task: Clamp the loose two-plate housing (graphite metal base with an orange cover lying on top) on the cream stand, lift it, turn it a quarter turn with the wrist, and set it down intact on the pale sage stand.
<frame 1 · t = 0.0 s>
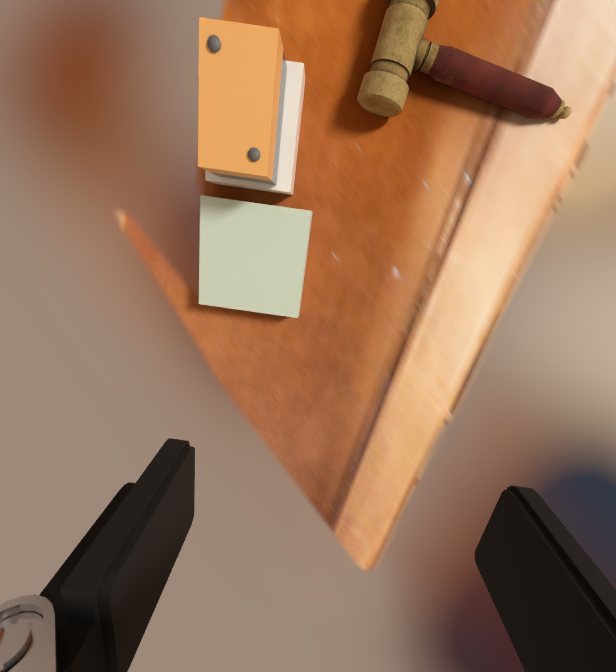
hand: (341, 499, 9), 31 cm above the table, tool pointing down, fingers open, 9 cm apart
gavel: (467, 85, 32), on the table
housing cover: (244, 114, 28), point 6 cm above the table, touching housing base
stand b: (257, 257, 38), on the table
stand a: (257, 133, 33), on the table
housing base: (251, 125, 30), point 3 cm above the table, touching housing cover, stand a
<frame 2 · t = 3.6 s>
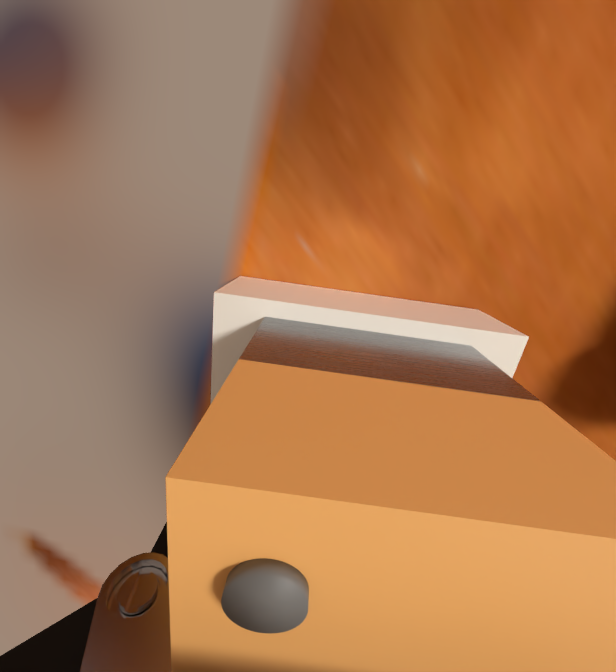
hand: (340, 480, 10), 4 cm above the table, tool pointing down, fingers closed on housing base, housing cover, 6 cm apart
housing cover: (345, 555, 8), point 6 cm above the table, touching gripper, housing base
stand a: (335, 416, 13), on the table
housing base: (339, 467, 11), point 3 cm above the table, touching gripper, housing cover, stand a
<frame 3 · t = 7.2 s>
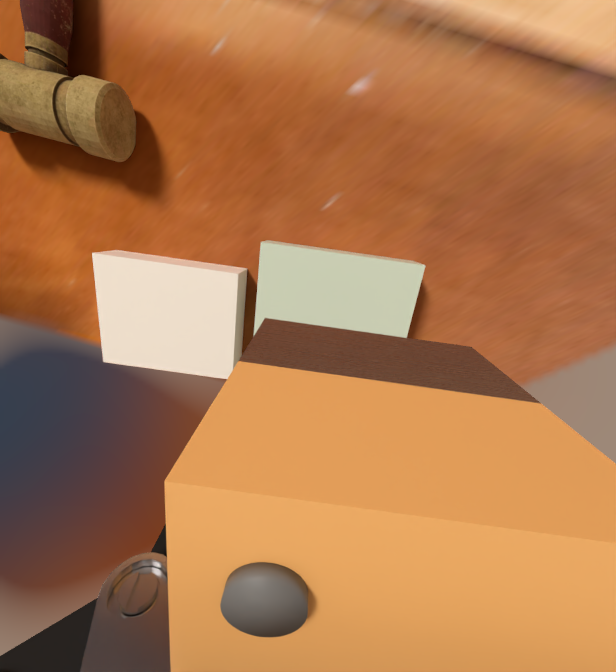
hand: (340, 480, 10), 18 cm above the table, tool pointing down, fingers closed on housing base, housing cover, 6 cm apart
housing cover: (345, 557, 8), point 21 cm above the table, touching gripper, housing base
stand b: (329, 320, 27), on the table
stand a: (182, 310, 27), on the table
housing base: (339, 468, 11), point 18 cm above the table, touching gripper, housing cover
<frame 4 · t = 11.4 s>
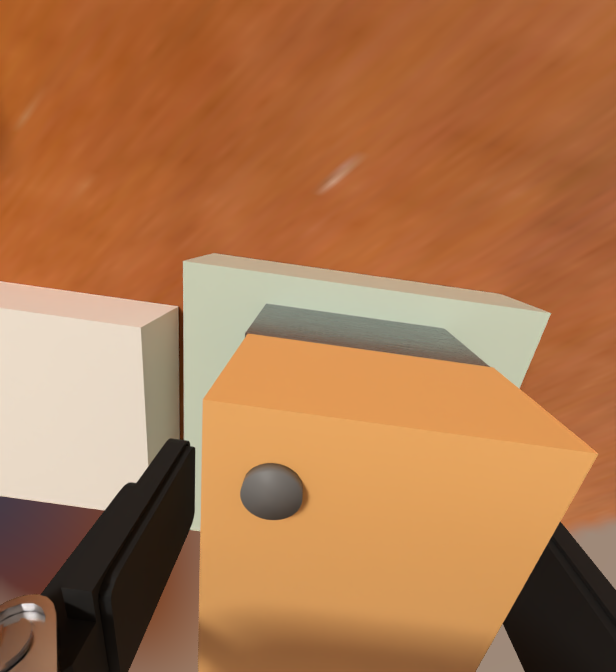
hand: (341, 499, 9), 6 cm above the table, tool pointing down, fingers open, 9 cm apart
housing cover: (337, 504, 9), point 6 cm above the table, touching housing base
stand b: (334, 398, 15), on the table
stand a: (67, 379, 15), on the table
housing base: (331, 438, 12), point 3 cm above the table, touching housing cover, stand b
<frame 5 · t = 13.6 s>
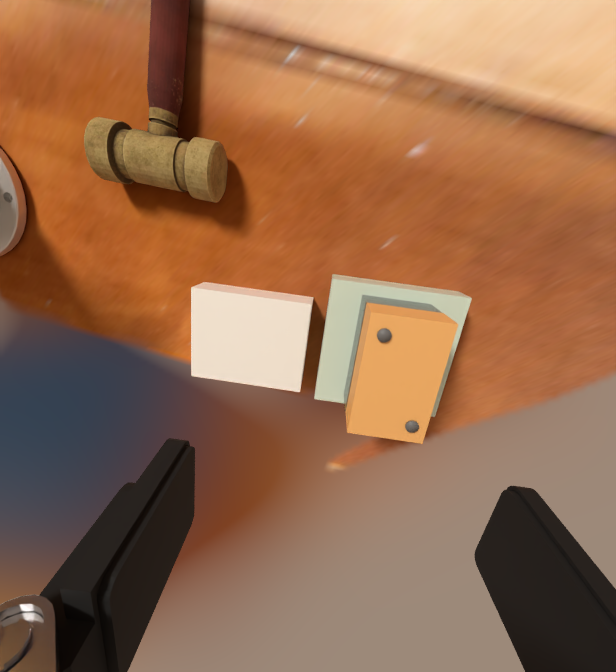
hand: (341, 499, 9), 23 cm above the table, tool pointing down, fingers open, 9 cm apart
gavel: (180, 57, 25), on the table
housing cover: (391, 365, 26), point 6 cm above the table, touching housing base
stand b: (382, 341, 31), on the table
stand a: (255, 332, 32), on the table
housing base: (384, 352, 28), point 3 cm above the table, touching housing cover, stand b
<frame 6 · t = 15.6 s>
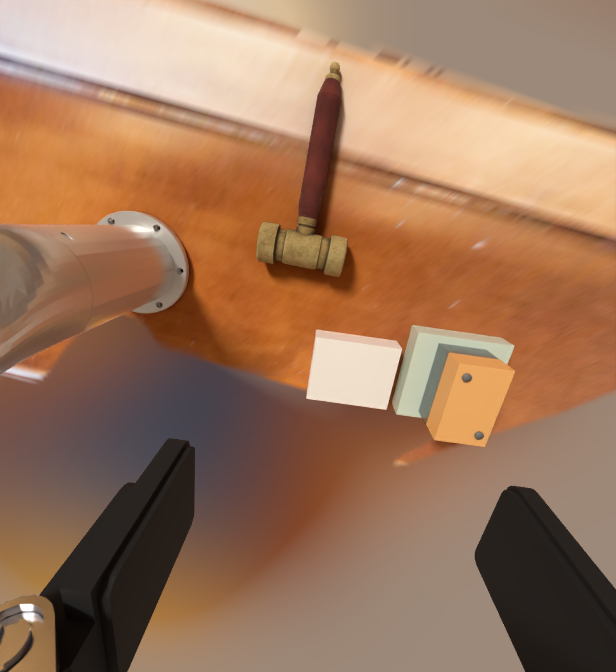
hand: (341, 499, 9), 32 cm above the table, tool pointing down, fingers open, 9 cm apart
gavel: (315, 177, 36), on the table
housing cover: (461, 393, 37), point 6 cm above the table, touching housing base
stand b: (443, 371, 43), on the table
stand a: (350, 365, 43), on the table
housing base: (450, 381, 40), point 3 cm above the table, touching housing cover, stand b
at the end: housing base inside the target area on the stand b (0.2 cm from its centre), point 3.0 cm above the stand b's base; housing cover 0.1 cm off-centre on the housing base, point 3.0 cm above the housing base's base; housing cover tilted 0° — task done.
